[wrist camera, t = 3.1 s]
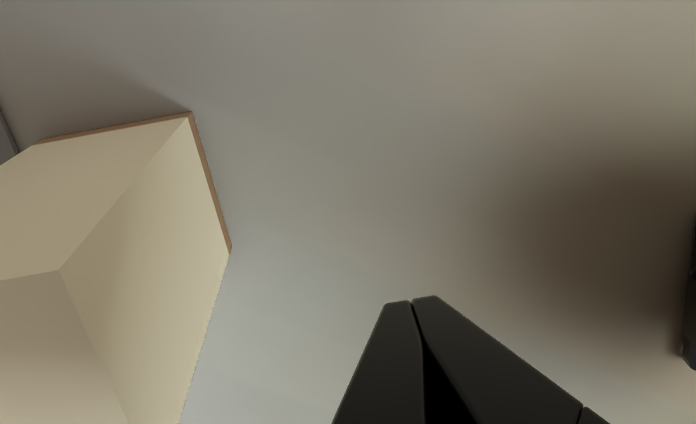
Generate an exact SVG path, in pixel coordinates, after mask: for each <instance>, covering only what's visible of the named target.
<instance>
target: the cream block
mask: <svg viewBox="0 0 696 424" xmlns="http://www.w3.org/2000/svg"><path fill="white" fill-rule="evenodd" d="M231 248H232V244H231V241H230V238H229V234H228V231H227V228H226V224H225V221H224V218H223V214H222V211H221V208H220V204H219V201H218V197H217V194H216V191H215V187H214V184H213V181H212V177H211V174H210V171H209V167H208V164H207V161H206V157H205V154H204V151H203V147H202V144H201V140H200V137H199V134H198V130H197V127H196V124H195V120H194V117H193V114H192V111H191V112H186V113H181V114H175V115H170V116H164V117H159V118H154V119H148V120H143V121H137V122H132V123H127V124H121V125H116V126H110V127H105V128H100V129H94V130H89V131H83V132H78V133H73V134H67V135H62V136H57V137H51V138H46V139H41V140H39V141H38V142H36V143H35V144H33V145H31V146H30V147H28V148H27V149H25V150H24V151H22V152H21V153H19V154H17V155H16V156H14V157H13V158H11V159H10V160H8V161H7V162H5V163H3V164H2V165H0V424H179V421H180V417H181V414H182V411H183V407H184V404H185V401H186V398H187V394H188V391H189V388H190V384H191V381H192V378H193V374H194V371H195V368H196V364H197V361H198V358H199V354H200V351H201V348H202V344H203V341H204V338H205V335H206V331H207V328H208V325H209V321H210V318H211V315H212V311H213V308H214V305H215V301H216V298H217V295H218V291H219V288H220V285H221V282H222V278H223V275H224V272H225V268H226V265H227V262H228V258H229V255H230V252H231Z"/></svg>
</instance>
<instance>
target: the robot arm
mask: <svg viewBox="0 0 696 424" xmlns="http://www.w3.org/2000/svg"><path fill="white" fill-rule="evenodd" d="M683 334H684V343H683V353H682V357H683V360H684V361H685V362H686V363H687V364H688V365H689V366H690V368H691V369H693V370H696V228H695V237H694V247H693V256H692V266H691V273H690V275H689V277H688V286H687V296H686V306H685V316H684V326H683ZM331 424H610V423H608V422H607V421H606V420H604V419H603V418H602V417H600V416H599V415H598V414H596V413H595V412H593V411H592V410H591V409H589V408H588V407H583V404H582V403H581V402H580V401H578V400H577V399H575V398H574V397H573V396H571V395H570V394H569V393H567V392H566V391H565V390H563V389H562V388H561V387H559V386H558V385H557V384H555V383H554V382H553V381H551V380H550V379H548V378H547V377H546V376H544V375H543V374H542V373H540V372H539V371H538V370H536V369H535V368H534V367H532V366H531V365H530V364H528V363H527V362H525V361H524V360H523V359H521V358H520V357H519V356H517V355H516V354H515V353H513V352H512V351H511V350H509V349H508V348H507V347H505V346H504V345H502V344H501V343H500V342H498V341H497V340H496V339H494V338H493V337H492V336H490V335H489V334H488V333H486V332H485V331H484V330H482V329H481V328H479V327H478V326H477V325H475V324H474V323H473V322H471V321H470V320H469V319H467V318H466V317H465V316H463V315H462V314H461V313H459V312H458V311H457V310H455V309H454V308H452V307H451V306H450V305H448V304H447V303H446V302H444V301H443V300H442V299H440V298H439V297H437V296H435V295H432V296H427V297H421V298H415V299H413V300H412V301H411V303H410V302H409V301H407V300H404V301H398V302H392V303H387V304H385V305H384V307H383V308H382V311H381V313H380V315H379V318H378V320H377V322H376V324H375V327H374V329H373V331H372V333H371V336H370V338H369V340H368V342H367V345H366V347H365V349H364V351H363V354H362V356H361V358H360V360H359V363H358V365H357V367H356V369H355V372H354V374H353V376H352V378H351V381H350V383H349V385H348V387H347V390H346V392H345V394H344V396H343V399H342V401H341V403H340V405H339V408H338V410H337V412H336V414H335V417H334V419H333V421H332V423H331Z"/></svg>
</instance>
